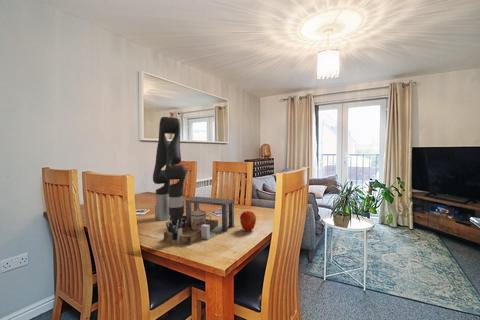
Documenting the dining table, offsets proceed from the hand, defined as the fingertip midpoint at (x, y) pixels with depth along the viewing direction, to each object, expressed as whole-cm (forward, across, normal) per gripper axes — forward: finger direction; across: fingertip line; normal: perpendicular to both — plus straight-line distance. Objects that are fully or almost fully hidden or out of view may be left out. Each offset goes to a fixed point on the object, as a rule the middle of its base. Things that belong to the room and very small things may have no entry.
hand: (177, 238), depth 118 cm
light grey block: (+2, -12, +11) cm, 16 cm away
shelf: (+3, -28, +3) cm, 28 cm away
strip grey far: (+3, -24, +11) cm, 27 cm away
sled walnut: (+2, -13, 0) cm, 14 cm away
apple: (+3, -29, +27) cm, 40 cm away
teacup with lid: (+3, -24, -1) cm, 24 cm away
